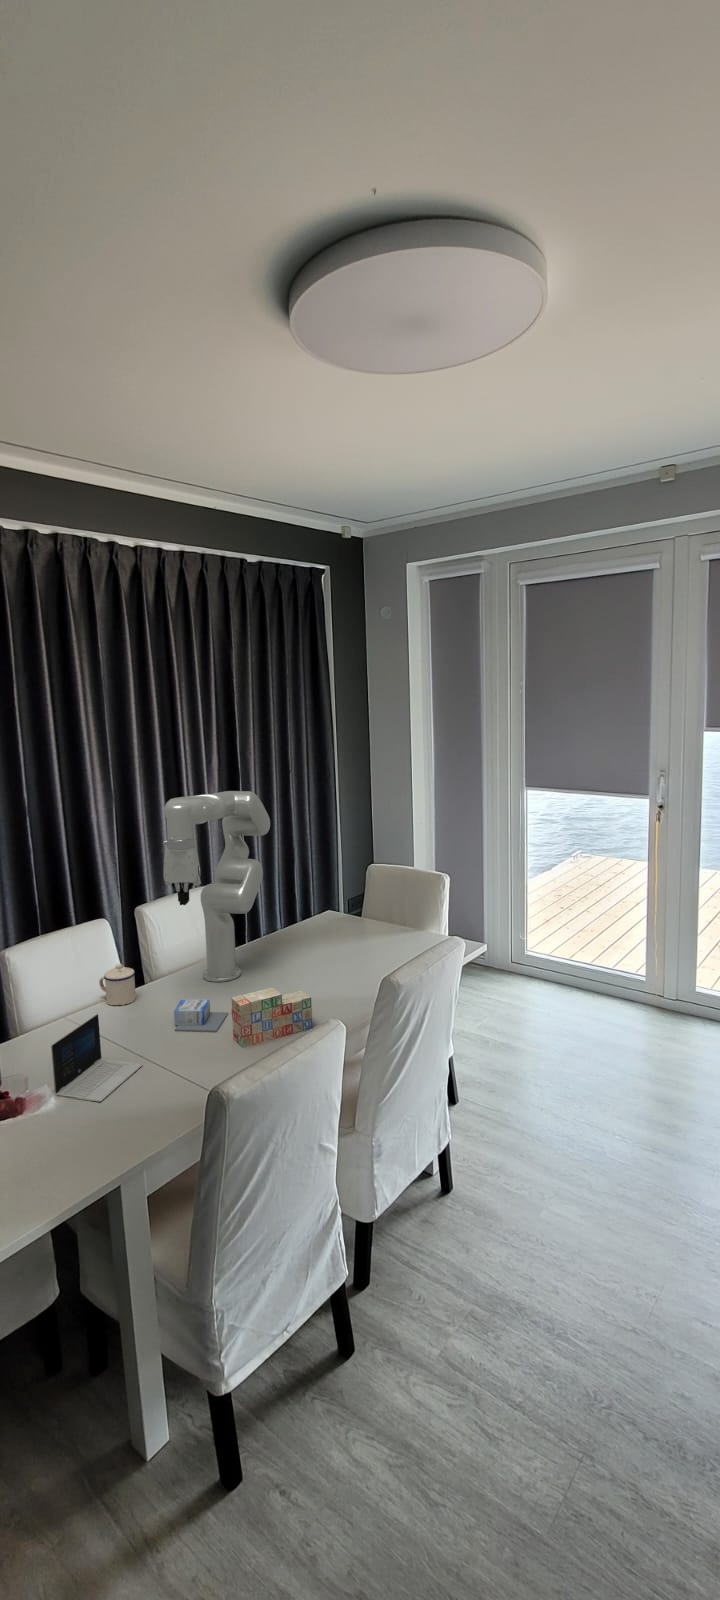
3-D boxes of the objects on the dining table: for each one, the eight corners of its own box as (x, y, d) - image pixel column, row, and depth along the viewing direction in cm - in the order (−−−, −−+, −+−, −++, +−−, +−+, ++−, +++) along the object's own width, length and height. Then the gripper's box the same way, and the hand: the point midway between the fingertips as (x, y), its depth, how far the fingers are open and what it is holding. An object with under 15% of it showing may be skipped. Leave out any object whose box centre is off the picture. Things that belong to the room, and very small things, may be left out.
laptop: (100, 1104, 172) (96, 1051, 170) (54, 1097, 175) (50, 1045, 173) (143, 1066, 189) (140, 1018, 187) (100, 1061, 192) (97, 1013, 191)
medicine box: (180, 999, 218) (209, 998, 218) (181, 1013, 219) (210, 1013, 218) (173, 1010, 210) (204, 1010, 210) (174, 1025, 211) (204, 1025, 211)
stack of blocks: (302, 1020, 214) (301, 979, 212) (312, 1028, 209) (311, 986, 207) (232, 1039, 203) (230, 996, 201) (241, 1048, 197) (239, 1004, 196)
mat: (188, 1013, 220) (188, 1011, 220) (228, 1013, 219) (228, 1012, 219) (174, 1031, 208) (174, 1029, 208) (216, 1032, 207) (216, 1030, 207)
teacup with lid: (142, 996, 233) (140, 961, 231) (124, 1008, 224) (122, 971, 223) (110, 992, 237) (107, 957, 235) (91, 1003, 228) (88, 967, 226)
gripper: (151, 846, 218) (155, 907, 221) (201, 846, 217) (204, 907, 219) (161, 841, 226) (164, 900, 228) (209, 841, 224) (211, 900, 227)
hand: (184, 903), depth 224 cm, fingers closed
